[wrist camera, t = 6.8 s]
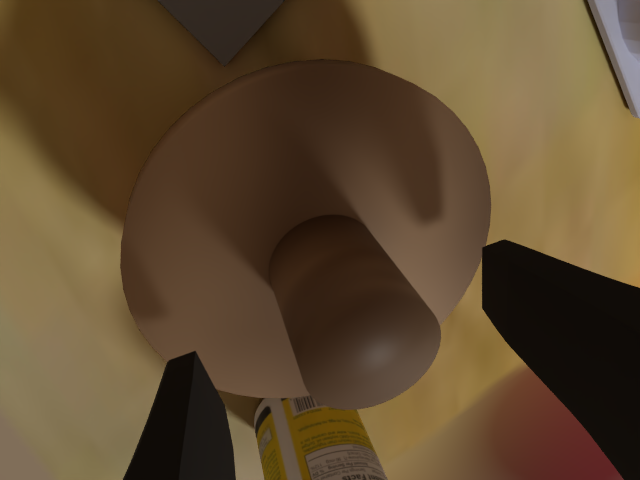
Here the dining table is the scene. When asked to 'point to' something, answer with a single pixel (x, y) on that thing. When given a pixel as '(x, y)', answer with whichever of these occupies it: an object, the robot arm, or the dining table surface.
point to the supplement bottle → (313, 442)
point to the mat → (222, 22)
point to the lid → (307, 233)
